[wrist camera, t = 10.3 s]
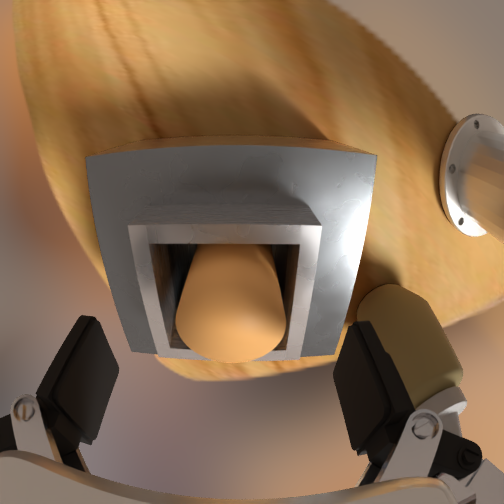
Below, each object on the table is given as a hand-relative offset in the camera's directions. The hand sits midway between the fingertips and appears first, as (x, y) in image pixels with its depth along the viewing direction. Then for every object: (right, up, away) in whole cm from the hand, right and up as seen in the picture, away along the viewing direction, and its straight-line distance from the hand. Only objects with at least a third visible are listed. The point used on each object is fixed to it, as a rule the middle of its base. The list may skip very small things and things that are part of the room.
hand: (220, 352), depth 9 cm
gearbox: (0, +6, +12) cm, 13 cm away
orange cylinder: (0, +5, +9) cm, 10 cm away
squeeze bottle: (+14, -2, +17) cm, 22 cm away
